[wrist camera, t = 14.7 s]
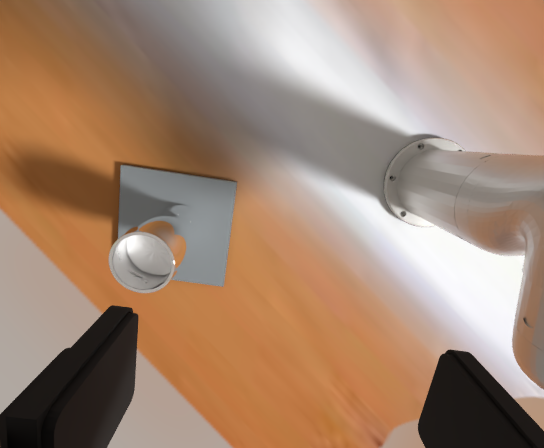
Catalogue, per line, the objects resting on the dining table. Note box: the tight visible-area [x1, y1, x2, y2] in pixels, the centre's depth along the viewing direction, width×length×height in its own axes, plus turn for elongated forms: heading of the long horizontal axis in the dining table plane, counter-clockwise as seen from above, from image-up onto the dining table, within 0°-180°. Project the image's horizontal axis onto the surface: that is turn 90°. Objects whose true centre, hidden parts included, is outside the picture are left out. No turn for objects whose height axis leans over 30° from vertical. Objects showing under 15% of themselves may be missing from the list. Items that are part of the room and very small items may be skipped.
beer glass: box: [109, 205, 201, 293], centre depth 40 cm, size 7×7×15 cm
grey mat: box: [118, 165, 237, 287], centre depth 48 cm, size 16×16×1 cm
